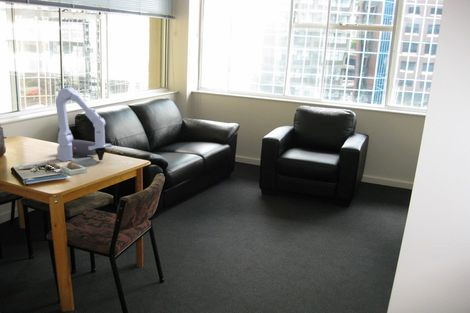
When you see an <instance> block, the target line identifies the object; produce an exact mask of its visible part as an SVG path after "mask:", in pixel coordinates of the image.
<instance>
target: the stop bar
mask: <svg viewBox="0 0 470 313" xmlns="http://www.w3.org/2000/svg"><path fill="white" fill-rule="evenodd" d="M47 164H48V165H50V166H52V167H54V168H56V169H61V166H60V165H58V164H55V163H54V162H51V161H49V162H47V163H46V165H47Z"/></svg>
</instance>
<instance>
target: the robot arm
mask: <svg viewBox="0 0 470 313" xmlns="http://www.w3.org/2000/svg"><path fill="white" fill-rule="evenodd" d="M68 101H72V102H75V103H76V104H77V105H79V107H80V108H81V109H82V111H84V114H85V116H86V117H87V119H89V121H90V122H91V123H92V125H93V128H94V142H95V145H93V146H88V150H93V149H95V151H96V153H97V155H96V156H97V158H98V160H99V161H103V159H104V154H105V152H106V151H107V148H112V143H106V136H105V134H106V131H105V126H106V123H107V121H106V119H105V118H104V117H102V116H101V115H99V114H98V112H97V110H96V109H95V108H93V107H90V106H89V105H88V104H87V102H86V101H85V100H84V99H83V98H82V96H81V95H80V93H79V92H78V91H77V90H76V89H75V88H74V87H72V86H68V87H65V88H61V89H60V90H59V91H58V93H57V96H56V98H55V108H56V114H57V121H58V128H59V132H58V138H57V143H58V145H57V148H56V151H57V157H56V160H59V161H61V162H71V160H72V159H76V158H75V157H73V156H74V155H73V154H72V141H73V140H74V136H73V134H72V131H71V129H70V126H69V120H68V114H67V113H68V112H67V106H66V105H67V104H66V103H68Z"/></svg>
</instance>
